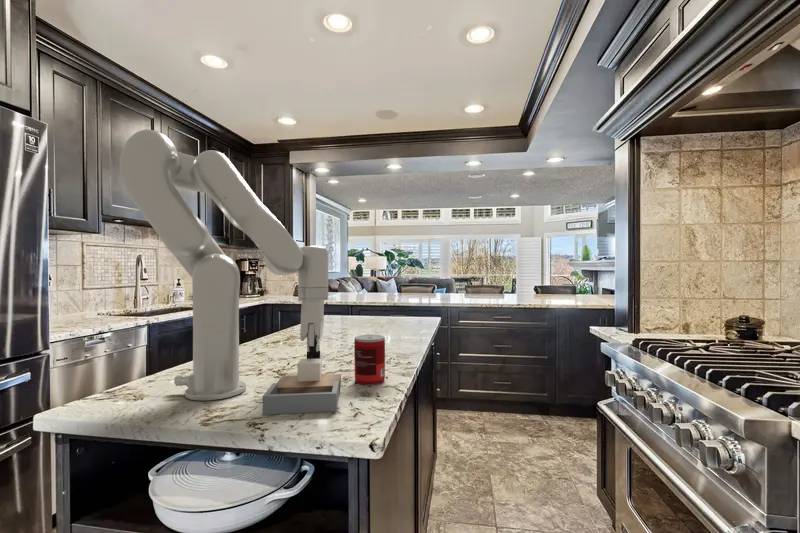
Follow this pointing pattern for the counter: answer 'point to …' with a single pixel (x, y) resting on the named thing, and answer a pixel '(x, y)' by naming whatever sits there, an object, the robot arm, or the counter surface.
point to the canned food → (369, 359)
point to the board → (307, 384)
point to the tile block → (309, 369)
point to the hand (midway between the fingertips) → (313, 366)
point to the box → (300, 401)
